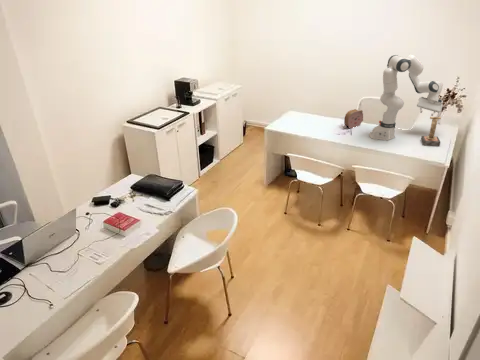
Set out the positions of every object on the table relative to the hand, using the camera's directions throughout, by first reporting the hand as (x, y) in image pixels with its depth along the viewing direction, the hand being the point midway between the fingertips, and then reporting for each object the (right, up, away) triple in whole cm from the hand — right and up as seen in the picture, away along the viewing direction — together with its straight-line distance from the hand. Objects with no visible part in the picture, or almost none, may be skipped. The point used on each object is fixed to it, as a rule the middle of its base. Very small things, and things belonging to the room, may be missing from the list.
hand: (426, 114), depth 315 cm
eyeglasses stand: (+1, -22, -5) cm, 23 cm away
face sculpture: (-52, -5, +42) cm, 67 cm away
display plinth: (+2, -26, -3) cm, 26 cm away
